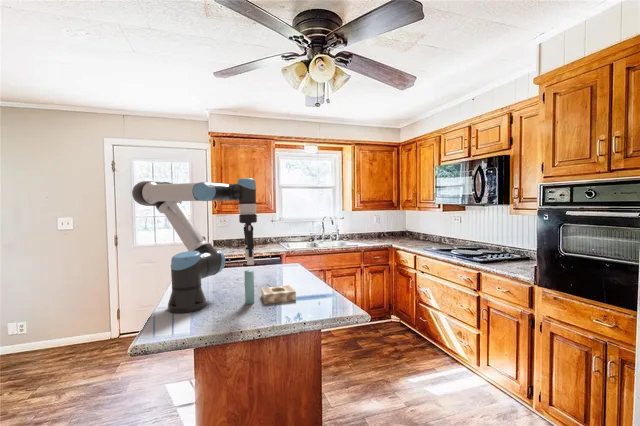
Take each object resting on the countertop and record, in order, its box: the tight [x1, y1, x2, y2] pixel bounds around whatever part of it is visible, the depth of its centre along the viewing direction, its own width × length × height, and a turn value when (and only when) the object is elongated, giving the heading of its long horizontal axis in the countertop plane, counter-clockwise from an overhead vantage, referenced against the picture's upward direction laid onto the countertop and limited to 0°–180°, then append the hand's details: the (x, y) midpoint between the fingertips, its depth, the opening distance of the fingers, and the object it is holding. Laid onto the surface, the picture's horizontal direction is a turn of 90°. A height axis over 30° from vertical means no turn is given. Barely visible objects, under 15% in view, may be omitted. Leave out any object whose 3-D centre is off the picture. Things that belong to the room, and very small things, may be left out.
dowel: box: [244, 269, 255, 305], centre depth 140 cm, size 4×4×14 cm
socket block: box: [260, 284, 297, 305], centre depth 146 cm, size 14×12×4 cm
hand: (249, 261), depth 140 cm, fingers open, 13 cm apart
